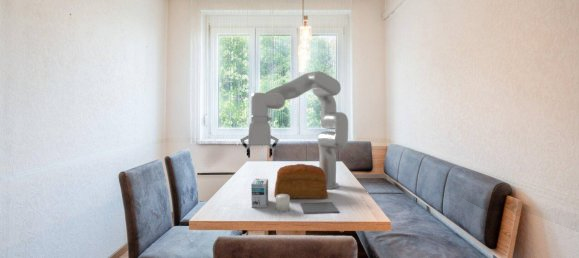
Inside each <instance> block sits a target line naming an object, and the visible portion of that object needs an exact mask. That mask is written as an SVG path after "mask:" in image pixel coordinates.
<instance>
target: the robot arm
mask: <svg viewBox="0 0 579 258" xmlns="http://www.w3.org/2000/svg"><path fill="white" fill-rule="evenodd" d="M341 87H342V86H341V84H340V82H339V81H338V80H337V79H336V78H334V77H332V76H331V75H329V74H327V73H325V72H324V71H320V70H319V71H309V72H306V73H304V74H301V75H300V76H298V77H297V78H294V79H293V80H291V81H288V82H286V83H284V84H281V85H279V86H276V87H274V88H272V89H270V90H268V91H266V92H252V94H251V95H250V96H251V102H250V103H251V106H250V107H251V110H250V112H251V113H250V115H251V118H250V119H251V120H250V121H251V122H250V123H249V125H248V126H249V127H248V135H246V136H243V138H240V142H241V144H242V146H243V148H245V149H246V156H247V158H248V159H250V158H251V148H250V147H251V146H268V147H269V148H268V149H269V150H268V153H269V155H268V156H269V157H268V158H270V159H271V158H272V156H273V149H274V148H275V147H276V146H277V144H278V142H279V141H280V140H279V139H278V138H277V137H275V136H273V135H272V133H271V124H270V123H269V121H272V118H271V117H269V110H280V109H282V108H283V107H284V106H285V104H286V101H287V100H293V99H296V98H299V97H300V96H301V95H302V96H303V94H305V93H306V92H308V91H310V90H312V92H313V94H314V96H316V97H317V99H318V100H319V102H320V124H321V127H322V128H324V129H327V130H326V131H325V130H324V131H321V133H319V134H318V136H317V143H318V144H317V145H318V151H319V152H318V153H319V160H318V161H319V165H318V167H320V168H321V169H322V170H323V171H324V174H325V180H326V187H327V190H333V189H337V188H339V183H337V154H336V151H335V150H344V149H346V147H347V146H348V141H349V140H348V139H349V120H348V119H349V118H348V116H347V115H346V113H344V112H342V111H339V112H338V111H337V101H336V99H335V97H334V96H337V95H339V93H340V92H341ZM330 130H334V131H330ZM247 140H248V144H247V143H246V141H247ZM272 140H273V141H274V143H273V144H271V141H272Z"/></svg>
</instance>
